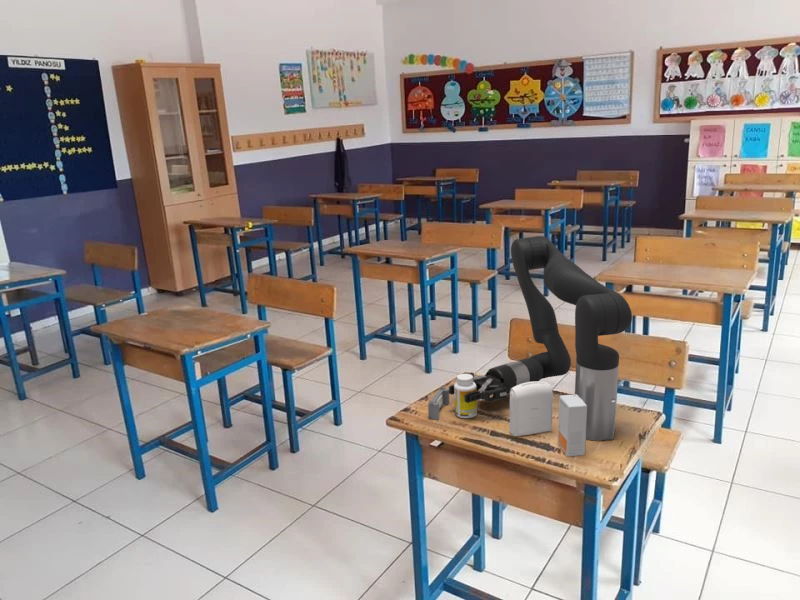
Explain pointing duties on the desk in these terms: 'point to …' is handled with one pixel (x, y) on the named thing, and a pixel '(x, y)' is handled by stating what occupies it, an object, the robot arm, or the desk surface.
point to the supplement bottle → (460, 389)
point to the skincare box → (572, 425)
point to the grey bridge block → (438, 403)
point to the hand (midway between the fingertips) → (457, 394)
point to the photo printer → (531, 408)
